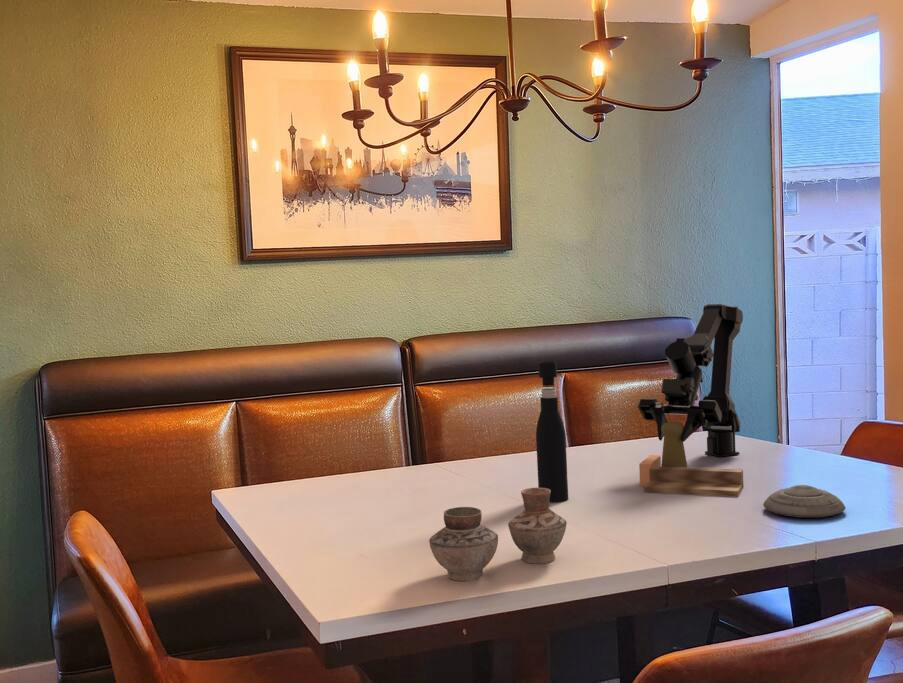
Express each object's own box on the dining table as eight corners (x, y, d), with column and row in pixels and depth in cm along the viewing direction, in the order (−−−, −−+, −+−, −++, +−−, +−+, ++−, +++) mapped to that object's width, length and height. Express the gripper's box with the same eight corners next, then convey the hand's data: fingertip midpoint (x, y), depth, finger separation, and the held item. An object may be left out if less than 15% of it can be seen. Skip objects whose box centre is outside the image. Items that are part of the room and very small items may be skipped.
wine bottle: (533, 498, 200) (527, 362, 198) (559, 494, 202) (553, 360, 200) (547, 504, 194) (541, 364, 192) (573, 500, 196) (567, 361, 194)
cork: (657, 467, 213) (655, 421, 212) (682, 465, 213) (680, 419, 213) (665, 473, 207) (663, 425, 206) (691, 471, 207) (689, 423, 207)
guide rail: (748, 479, 207) (747, 457, 207) (738, 496, 192) (737, 473, 191) (650, 475, 216) (649, 454, 216) (633, 491, 201) (632, 469, 201)
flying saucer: (784, 500, 188) (783, 474, 188) (858, 510, 177) (857, 482, 177) (749, 515, 177) (748, 487, 177) (825, 527, 167) (824, 497, 166)
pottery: (581, 561, 153) (578, 491, 152) (452, 592, 141) (448, 516, 140) (543, 546, 163) (540, 480, 162) (419, 574, 151) (415, 503, 150)
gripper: (638, 364, 217) (621, 417, 209) (715, 365, 206) (701, 421, 198) (653, 393, 224) (637, 445, 216) (728, 395, 213) (714, 450, 205)
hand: (670, 440), depth 209 cm, fingers closed on cork, 5 cm apart
